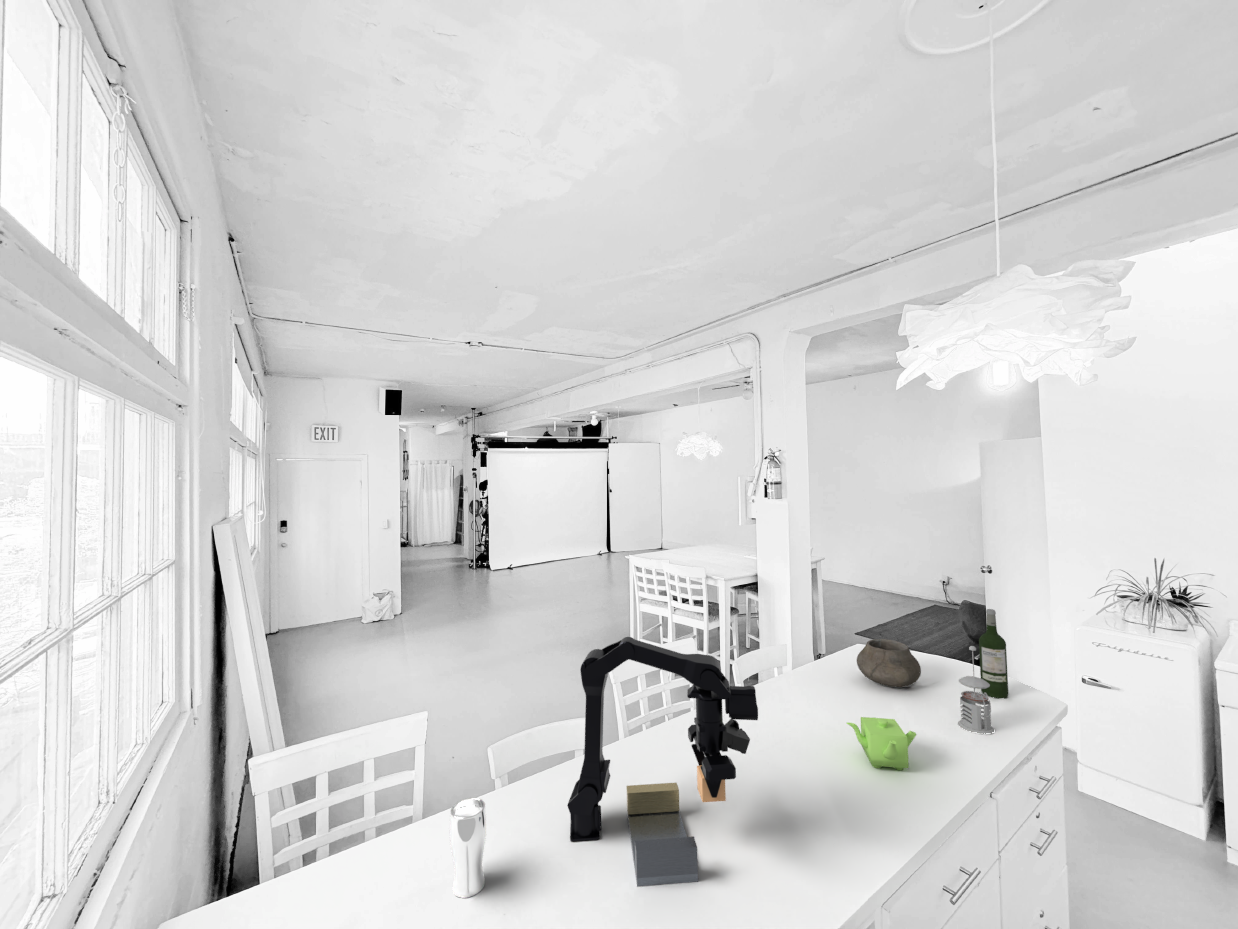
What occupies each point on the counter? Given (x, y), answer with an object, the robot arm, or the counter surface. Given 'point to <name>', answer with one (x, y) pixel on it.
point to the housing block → (705, 791)
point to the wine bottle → (993, 659)
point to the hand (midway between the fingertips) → (711, 789)
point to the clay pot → (888, 663)
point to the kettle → (884, 742)
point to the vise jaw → (652, 798)
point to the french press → (969, 707)
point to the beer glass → (468, 846)
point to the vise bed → (657, 832)
